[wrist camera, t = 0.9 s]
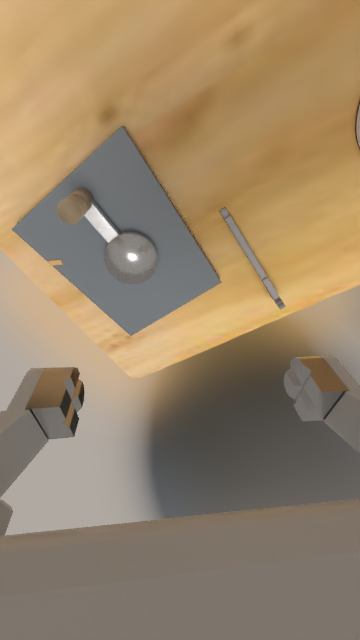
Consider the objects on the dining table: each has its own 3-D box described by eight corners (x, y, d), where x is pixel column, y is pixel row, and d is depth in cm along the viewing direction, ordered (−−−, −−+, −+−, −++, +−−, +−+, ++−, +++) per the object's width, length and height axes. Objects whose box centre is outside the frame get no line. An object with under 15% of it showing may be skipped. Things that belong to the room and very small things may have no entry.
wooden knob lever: (167, 261, 39) (168, 282, 33) (129, 286, 41) (125, 310, 36) (98, 170, 31) (85, 178, 25) (55, 208, 33) (35, 223, 27)
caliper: (275, 293, 48) (289, 311, 43) (270, 295, 48) (283, 314, 43) (224, 206, 37) (235, 217, 32) (218, 210, 37) (228, 222, 32)
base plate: (123, 126, 30) (121, 125, 28) (219, 277, 44) (221, 282, 42) (17, 225, 36) (10, 230, 34) (131, 329, 50) (130, 336, 48)
